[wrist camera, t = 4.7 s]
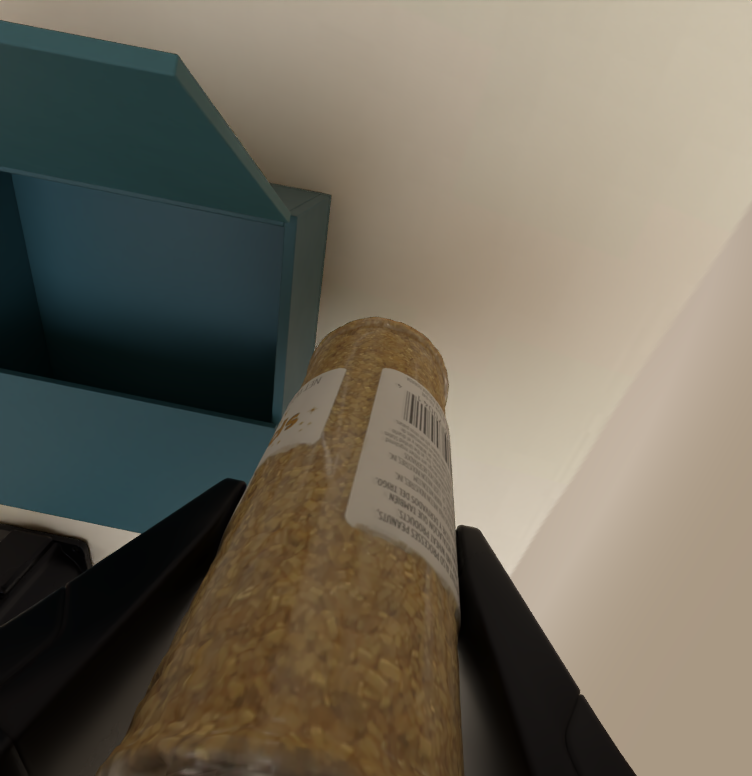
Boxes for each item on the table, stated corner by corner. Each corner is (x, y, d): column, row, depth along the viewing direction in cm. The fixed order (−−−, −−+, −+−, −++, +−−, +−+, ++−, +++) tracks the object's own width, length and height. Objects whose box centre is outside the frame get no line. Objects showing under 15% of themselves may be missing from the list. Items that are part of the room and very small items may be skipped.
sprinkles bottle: (294, 325, 14) (-329, 1168, 3) (441, 303, 14) (491, 1394, 2) (328, 445, 16) (67, 1218, 5) (458, 432, 16) (534, 1335, 4)
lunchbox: (1, 129, 19) (-167, 130, 14) (331, 194, 19) (291, 220, 13) (62, 424, 26) (-32, 499, 21) (300, 473, 26) (266, 560, 21)
